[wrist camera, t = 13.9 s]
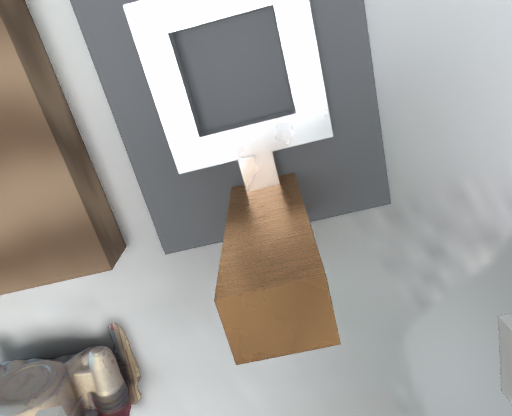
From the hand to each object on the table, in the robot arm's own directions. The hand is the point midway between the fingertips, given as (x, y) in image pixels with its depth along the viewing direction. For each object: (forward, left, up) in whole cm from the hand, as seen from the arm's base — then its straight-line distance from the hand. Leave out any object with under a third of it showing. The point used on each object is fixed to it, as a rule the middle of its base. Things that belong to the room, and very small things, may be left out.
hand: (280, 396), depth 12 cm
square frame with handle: (+6, 0, -15) cm, 16 cm away
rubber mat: (+6, 0, -15) cm, 17 cm away
